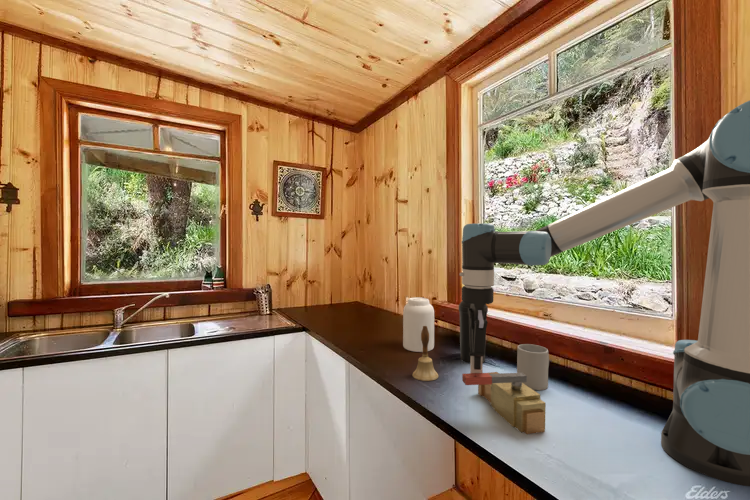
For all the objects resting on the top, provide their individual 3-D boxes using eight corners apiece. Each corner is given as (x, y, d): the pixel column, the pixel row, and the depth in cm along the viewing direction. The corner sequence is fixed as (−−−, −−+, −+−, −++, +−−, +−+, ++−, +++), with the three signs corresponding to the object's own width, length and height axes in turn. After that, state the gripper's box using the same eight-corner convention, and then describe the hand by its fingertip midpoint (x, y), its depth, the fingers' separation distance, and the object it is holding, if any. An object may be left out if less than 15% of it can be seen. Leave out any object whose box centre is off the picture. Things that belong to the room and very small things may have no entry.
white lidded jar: (426, 354, 125) (426, 302, 124) (397, 349, 131) (397, 299, 131) (438, 346, 135) (439, 297, 135) (411, 341, 142) (411, 295, 141)
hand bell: (407, 375, 106) (407, 326, 105) (423, 368, 111) (424, 321, 111) (427, 383, 100) (427, 331, 99) (443, 376, 105) (444, 326, 105)
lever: (521, 386, 82) (522, 371, 82) (527, 390, 79) (527, 375, 79) (462, 388, 81) (462, 373, 81) (465, 392, 78) (465, 377, 78)
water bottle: (490, 358, 121) (490, 296, 121) (483, 366, 113) (483, 300, 112) (463, 353, 127) (463, 293, 126) (454, 361, 118) (454, 297, 118)
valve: (549, 431, 75) (549, 400, 74) (522, 435, 73) (522, 404, 73) (498, 391, 94) (498, 367, 94) (476, 394, 93) (476, 369, 93)
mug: (536, 393, 93) (537, 354, 93) (510, 382, 101) (511, 346, 100) (560, 383, 100) (561, 347, 99) (534, 373, 107) (534, 340, 107)
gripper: (458, 282, 88) (457, 369, 89) (465, 290, 75) (464, 391, 76) (488, 282, 87) (486, 370, 88) (499, 290, 74) (497, 393, 75)
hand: (476, 380), depth 82 cm, fingers closed
